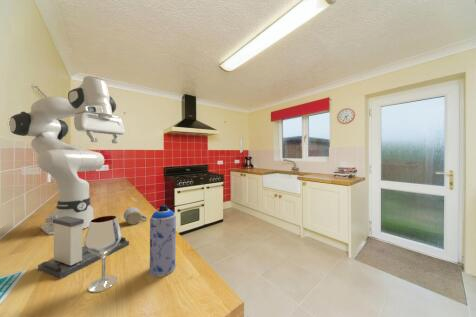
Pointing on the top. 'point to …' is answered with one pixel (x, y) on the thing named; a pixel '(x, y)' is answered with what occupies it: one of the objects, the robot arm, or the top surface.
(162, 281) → the top surface
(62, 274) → the fader track
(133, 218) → the light bulb
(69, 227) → the fader knob
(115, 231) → the wineglass
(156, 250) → the aerosol can
